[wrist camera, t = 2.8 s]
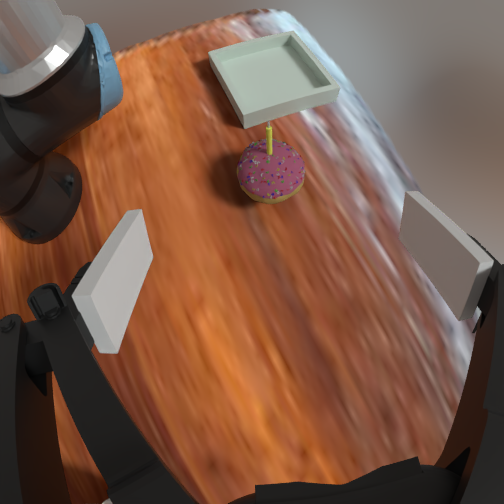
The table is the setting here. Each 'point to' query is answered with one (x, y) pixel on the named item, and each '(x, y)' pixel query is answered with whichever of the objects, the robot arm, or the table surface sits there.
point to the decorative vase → (107, 501)
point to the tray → (272, 77)
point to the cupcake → (270, 170)
